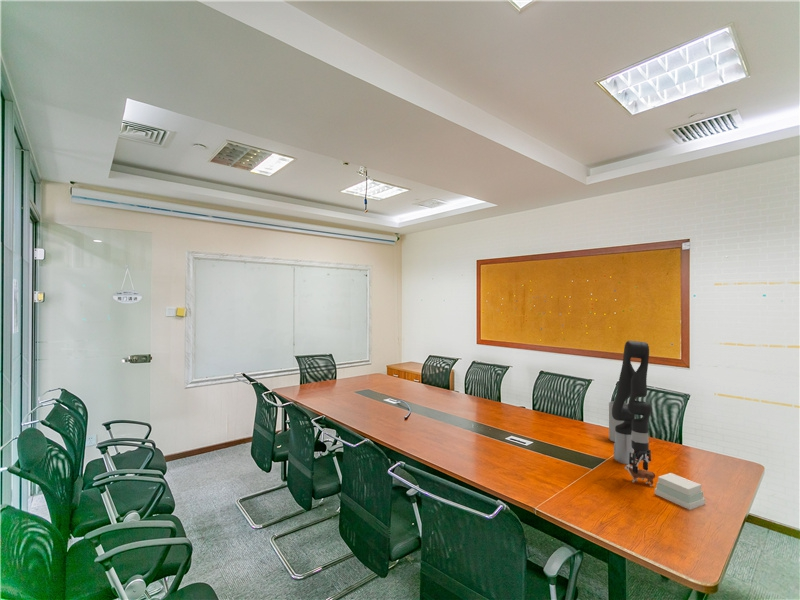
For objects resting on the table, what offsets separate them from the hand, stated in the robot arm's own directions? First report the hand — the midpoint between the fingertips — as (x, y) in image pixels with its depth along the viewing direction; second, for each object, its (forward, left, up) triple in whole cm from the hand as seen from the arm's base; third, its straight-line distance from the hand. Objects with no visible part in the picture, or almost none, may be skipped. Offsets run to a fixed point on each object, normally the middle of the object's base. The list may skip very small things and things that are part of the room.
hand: (640, 471), depth 187 cm
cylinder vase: (-43, +46, -6) cm, 63 cm away
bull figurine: (-1, 0, -6) cm, 6 cm away
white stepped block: (+17, +1, -6) cm, 19 cm away
